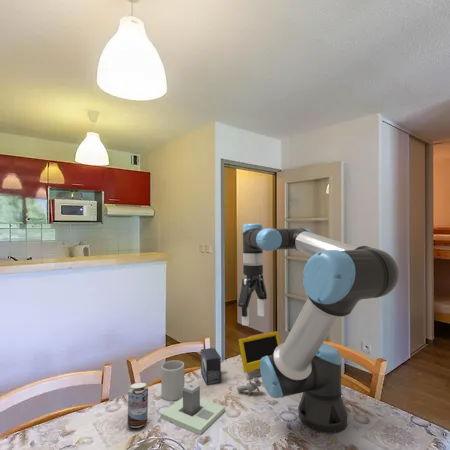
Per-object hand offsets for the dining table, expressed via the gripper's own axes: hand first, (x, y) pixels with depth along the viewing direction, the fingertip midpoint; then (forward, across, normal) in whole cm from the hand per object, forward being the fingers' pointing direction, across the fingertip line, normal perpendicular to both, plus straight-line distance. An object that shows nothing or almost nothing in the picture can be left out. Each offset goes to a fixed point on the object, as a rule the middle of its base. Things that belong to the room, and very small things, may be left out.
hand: (253, 320), depth 115 cm
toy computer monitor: (+27, -16, -5) cm, 31 cm away
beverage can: (+27, +36, -24) cm, 51 cm away
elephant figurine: (+27, +3, 0) cm, 27 cm away
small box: (+27, 0, -20) cm, 33 cm away
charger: (+27, +23, -12) cm, 37 cm away
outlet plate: (+27, +23, -12) cm, 37 cm away
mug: (+27, +16, -26) cm, 41 cm away
